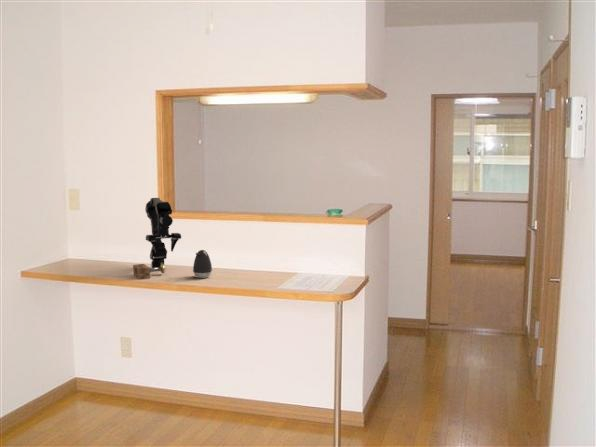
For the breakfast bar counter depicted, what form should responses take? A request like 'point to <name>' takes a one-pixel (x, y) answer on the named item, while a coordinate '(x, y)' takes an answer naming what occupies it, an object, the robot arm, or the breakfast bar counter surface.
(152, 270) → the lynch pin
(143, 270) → the block
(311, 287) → the breakfast bar counter surface
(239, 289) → the breakfast bar counter surface
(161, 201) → the robot arm
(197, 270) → the black egg-shaped device
